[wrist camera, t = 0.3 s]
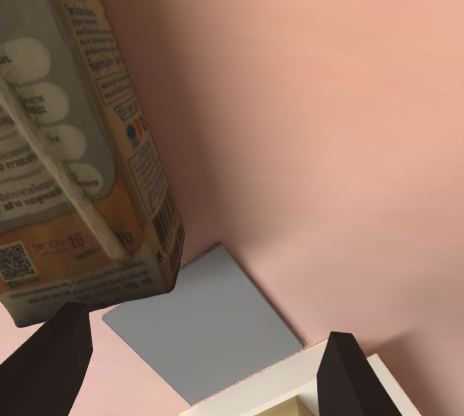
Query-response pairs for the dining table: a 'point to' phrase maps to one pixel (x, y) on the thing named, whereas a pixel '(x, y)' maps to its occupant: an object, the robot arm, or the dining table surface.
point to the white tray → (291, 388)
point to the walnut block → (288, 409)
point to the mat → (205, 328)
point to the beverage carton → (76, 168)
